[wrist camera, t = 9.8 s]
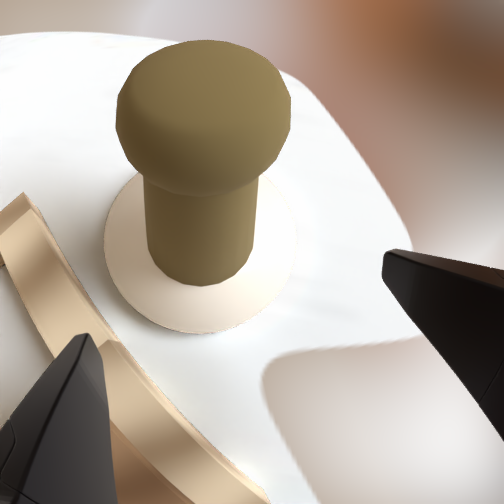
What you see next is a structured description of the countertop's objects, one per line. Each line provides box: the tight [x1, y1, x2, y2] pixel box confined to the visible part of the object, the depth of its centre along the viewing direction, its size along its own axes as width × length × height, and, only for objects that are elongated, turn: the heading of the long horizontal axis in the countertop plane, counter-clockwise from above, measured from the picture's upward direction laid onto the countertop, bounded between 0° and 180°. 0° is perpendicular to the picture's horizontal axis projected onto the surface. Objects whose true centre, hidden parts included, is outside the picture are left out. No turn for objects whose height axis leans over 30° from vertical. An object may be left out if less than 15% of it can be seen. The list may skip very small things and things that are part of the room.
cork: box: [116, 40, 291, 287], centre depth 12 cm, size 6×6×11 cm
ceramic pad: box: [104, 173, 296, 334], centre depth 18 cm, size 11×11×1 cm
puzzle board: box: [0, 192, 271, 504], centre depth 11 cm, size 22×15×3 cm
